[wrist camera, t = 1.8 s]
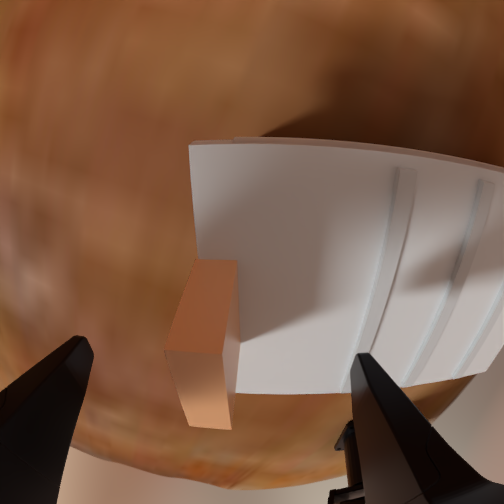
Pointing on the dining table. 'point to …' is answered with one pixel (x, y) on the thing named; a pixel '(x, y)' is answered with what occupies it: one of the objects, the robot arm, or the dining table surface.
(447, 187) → the lid
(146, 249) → the dining table surface
